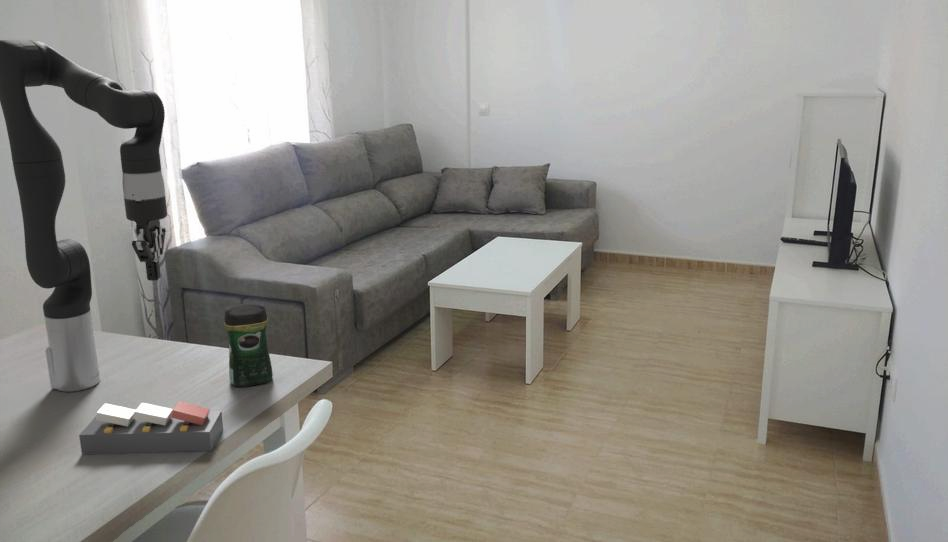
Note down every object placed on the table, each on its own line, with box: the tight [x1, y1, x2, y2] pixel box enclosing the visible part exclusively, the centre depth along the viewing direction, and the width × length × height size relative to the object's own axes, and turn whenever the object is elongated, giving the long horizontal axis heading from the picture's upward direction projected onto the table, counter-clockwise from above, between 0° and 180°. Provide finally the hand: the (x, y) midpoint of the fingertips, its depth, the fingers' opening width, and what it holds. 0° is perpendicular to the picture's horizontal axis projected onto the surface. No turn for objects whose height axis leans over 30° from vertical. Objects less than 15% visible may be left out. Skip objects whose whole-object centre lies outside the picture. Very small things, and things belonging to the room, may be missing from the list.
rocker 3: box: [171, 400, 211, 425], centre depth 151 cm, size 6×4×2 cm, turn 94°
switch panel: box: [78, 410, 224, 455], centre depth 151 cm, size 24×9×5 cm, turn 93°
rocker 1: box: [95, 402, 136, 426], centre depth 150 cm, size 6×4×2 cm, turn 94°
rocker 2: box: [133, 402, 174, 426], centre depth 150 cm, size 6×4×2 cm, turn 94°
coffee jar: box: [223, 301, 274, 388], centre depth 178 cm, size 10×8×19 cm
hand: (154, 279), depth 157 cm, fingers closed
